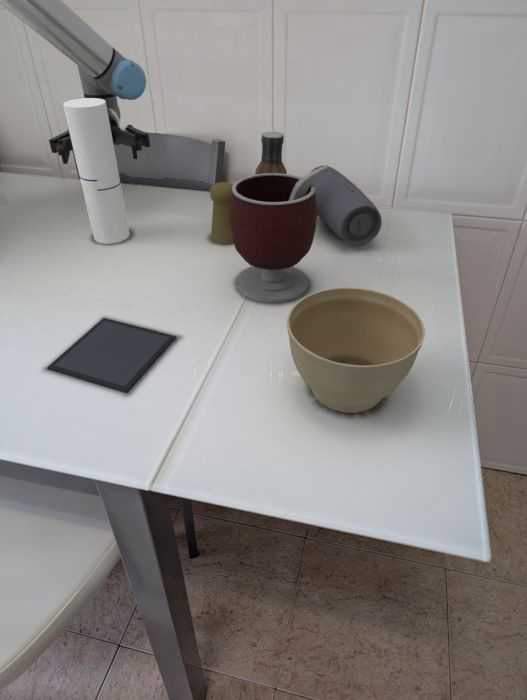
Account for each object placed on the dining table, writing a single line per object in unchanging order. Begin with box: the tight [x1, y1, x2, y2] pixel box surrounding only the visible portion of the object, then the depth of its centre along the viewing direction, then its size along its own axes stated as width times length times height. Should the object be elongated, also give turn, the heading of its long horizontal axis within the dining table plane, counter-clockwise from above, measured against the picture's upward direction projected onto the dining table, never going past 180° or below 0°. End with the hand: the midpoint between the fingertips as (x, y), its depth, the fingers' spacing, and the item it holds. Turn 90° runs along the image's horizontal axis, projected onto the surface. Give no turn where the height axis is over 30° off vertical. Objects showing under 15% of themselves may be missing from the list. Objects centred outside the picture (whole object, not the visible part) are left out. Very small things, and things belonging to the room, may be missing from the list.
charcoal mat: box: [46, 317, 177, 394], centre depth 71 cm, size 13×13×1 cm
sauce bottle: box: [254, 130, 288, 175], centre depth 95 cm, size 6×6×20 cm
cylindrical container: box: [62, 97, 130, 245], centre depth 94 cm, size 7×7×25 cm
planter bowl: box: [286, 286, 426, 414], centre depth 62 cm, size 16×16×11 cm
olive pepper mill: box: [209, 181, 234, 245], centre depth 98 cm, size 6×6×11 cm
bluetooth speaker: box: [310, 165, 383, 247], centre depth 102 cm, size 23×9×10 cm, turn 14°
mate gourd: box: [230, 164, 330, 304], centre depth 81 cm, size 16×14×20 cm
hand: (99, 154), depth 98 cm, fingers open, 13 cm apart
